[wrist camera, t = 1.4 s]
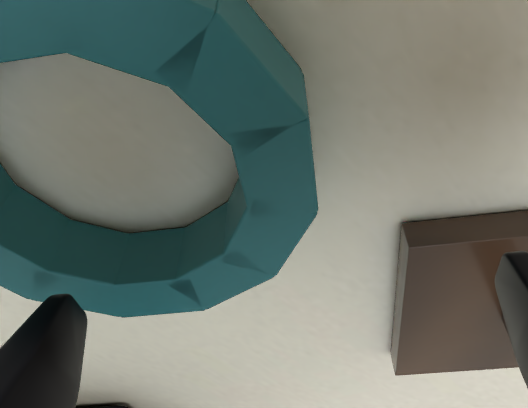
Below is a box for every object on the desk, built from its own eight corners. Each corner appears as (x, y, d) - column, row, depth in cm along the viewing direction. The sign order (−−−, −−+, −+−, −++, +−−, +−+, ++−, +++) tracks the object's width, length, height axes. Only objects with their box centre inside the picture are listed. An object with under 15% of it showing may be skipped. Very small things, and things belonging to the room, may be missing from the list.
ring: (33, 276, 19) (10, 327, 17) (-224, -29, 11) (-317, 11, 9) (321, 248, 18) (327, 300, 16) (283, -124, 9) (287, -99, 8)
